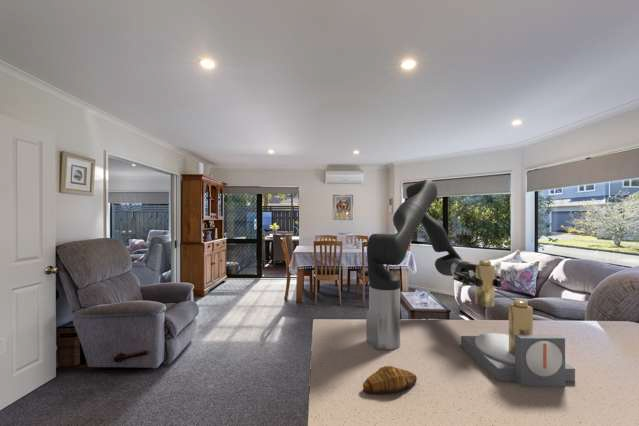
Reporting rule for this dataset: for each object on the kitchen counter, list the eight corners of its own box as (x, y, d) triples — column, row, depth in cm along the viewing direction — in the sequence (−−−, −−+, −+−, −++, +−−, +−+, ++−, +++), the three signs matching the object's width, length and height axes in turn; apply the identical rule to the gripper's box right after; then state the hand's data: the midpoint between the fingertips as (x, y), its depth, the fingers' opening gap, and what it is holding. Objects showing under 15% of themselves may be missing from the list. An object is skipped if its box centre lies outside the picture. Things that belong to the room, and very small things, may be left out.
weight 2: (525, 360, 69) (524, 305, 69) (504, 351, 74) (504, 300, 74) (537, 356, 71) (537, 303, 71) (516, 347, 76) (516, 297, 76)
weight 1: (487, 307, 85) (487, 263, 85) (471, 302, 89) (472, 260, 89) (498, 305, 87) (498, 262, 87) (482, 300, 91) (482, 259, 91)
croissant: (371, 403, 60) (370, 379, 60) (357, 385, 66) (357, 363, 66) (425, 391, 64) (425, 369, 64) (407, 375, 70) (407, 354, 71)
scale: (505, 387, 65) (505, 339, 65) (461, 345, 86) (461, 309, 86) (585, 388, 65) (585, 339, 65) (521, 346, 85) (521, 309, 85)
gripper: (444, 260, 103) (464, 270, 86) (486, 261, 102) (515, 271, 85) (444, 281, 103) (464, 295, 86) (486, 282, 102) (514, 296, 85)
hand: (489, 283), depth 85 cm, fingers closed on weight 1, 5 cm apart
